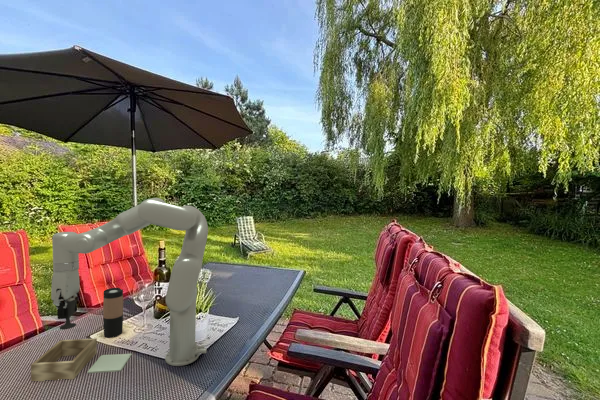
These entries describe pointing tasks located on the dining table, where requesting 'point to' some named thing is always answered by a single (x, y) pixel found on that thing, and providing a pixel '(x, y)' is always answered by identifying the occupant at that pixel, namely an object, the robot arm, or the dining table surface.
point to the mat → (110, 363)
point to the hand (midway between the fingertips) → (67, 314)
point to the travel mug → (113, 312)
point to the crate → (66, 369)
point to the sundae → (69, 312)
